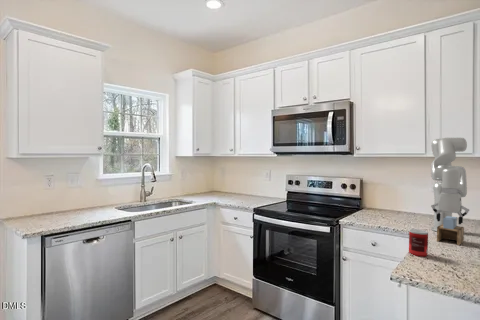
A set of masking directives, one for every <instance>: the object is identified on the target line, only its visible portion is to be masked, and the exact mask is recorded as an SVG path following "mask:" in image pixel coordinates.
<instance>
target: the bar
mask: <svg viewBox="0 0 480 320" xmlns="http://www.w3.org/2000/svg"><path fill="white" fill-rule="evenodd" d="M457 220H458V217H457V216H452V217H451V216H447V217H445V218H444V219H443V228H448V229H454V228H455V227H456V226H458V225H457V224H458V221H457Z"/></svg>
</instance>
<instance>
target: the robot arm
mask: <svg viewBox="0 0 480 320" xmlns="http://www.w3.org/2000/svg"><path fill="white" fill-rule="evenodd" d="M467 147H468V143H467V140H466V138H464V137H444V138H443V137H442V138H435V139H434V140H432V141H431V151H432V155H433V157H434V159H433V161H432V162H431V164H430V177H431V180H433V181H436V182H434V183H433V186H432V187H433V188H432V189H433V196H434V198H433V199H434V201H433V202H434V203H433V204H431V206H430V207H431V208H432V211H433V226H431V227H430V230H431V231H433V232H437V227H438V226H440V225H442V224H443V219H444V218H445V217H447V216H451V217H453V214H457V215H458V225H459V226H461V225H462V224H464V223H463V222H464V217H465V216H467V215H468V213H469V212H470V209H469V208H467V207H466V206H464V205H462V199H463V198H465V197H467V193H468V187H467V186H468V185H467V183H468V182H467V172H466V169H465V167H464V166H460V165H452V162H454V161H455V160H456V159H457V154H456V152H459V153H460V152H465V151H466V150H467ZM462 210H464V212H462Z"/></svg>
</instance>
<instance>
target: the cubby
mask: <svg viewBox="0 0 480 320" xmlns="http://www.w3.org/2000/svg"><path fill="white" fill-rule="evenodd" d="M464 235H465V227H464V226H460V225H459V226H458V225H457V226H456V227H455V228H454V229H448V228H443V224H442V225H440V226H438V227H437V231H436V242H440V241H441V240H443V239H444V240H451V241H452V240H453V241H456V246H460V245H461V244H463V243H464V238H465V237H464Z"/></svg>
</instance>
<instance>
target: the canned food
mask: <svg viewBox="0 0 480 320" xmlns="http://www.w3.org/2000/svg"><path fill="white" fill-rule="evenodd" d="M408 231H409V232H408V253H409V254H410V253H411V254H413V255H412V256H414V255H415V256H416V257H419V256H420V257H421V258H424V257H425V258H426V257H427V256H428V254H429V253H428V250H429V248H428V247H429V232H428V231H426V230H423V229H416V228H415V229H414V228H411V229H409V230H408ZM411 254H410V255H411ZM415 256H414V257H415ZM420 257H419V258H420Z"/></svg>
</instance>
